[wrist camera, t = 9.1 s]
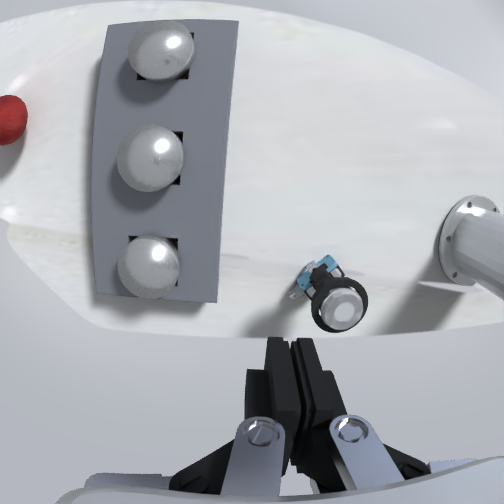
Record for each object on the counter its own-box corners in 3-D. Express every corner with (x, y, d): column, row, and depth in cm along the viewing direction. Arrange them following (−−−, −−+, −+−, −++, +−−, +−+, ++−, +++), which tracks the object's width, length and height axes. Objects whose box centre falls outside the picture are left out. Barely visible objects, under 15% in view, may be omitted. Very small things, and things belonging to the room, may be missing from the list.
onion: (1, 139, 29) (-39, 141, 21) (13, 95, 27) (-26, 89, 19) (32, 148, 30) (-9, 151, 22) (45, 102, 28) (6, 94, 20)
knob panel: (237, 35, 28) (238, 20, 24) (218, 287, 36) (216, 303, 32) (120, 37, 27) (108, 25, 23) (108, 279, 35) (96, 293, 31)
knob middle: (192, 130, 30) (184, 124, 25) (188, 186, 32) (179, 193, 26) (137, 129, 30) (118, 125, 24) (134, 184, 31) (115, 191, 26)
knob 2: (187, 226, 33) (178, 241, 27) (186, 277, 35) (178, 301, 29) (134, 223, 33) (116, 237, 27) (135, 274, 34) (119, 296, 29)
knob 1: (202, 40, 27) (196, 19, 22) (196, 90, 29) (188, 77, 23) (148, 42, 27) (133, 22, 21) (141, 91, 29) (123, 79, 23)
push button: (301, 308, 37) (322, 356, 28) (274, 276, 36) (290, 319, 26) (346, 274, 37) (381, 313, 27) (322, 240, 35) (354, 271, 26)
